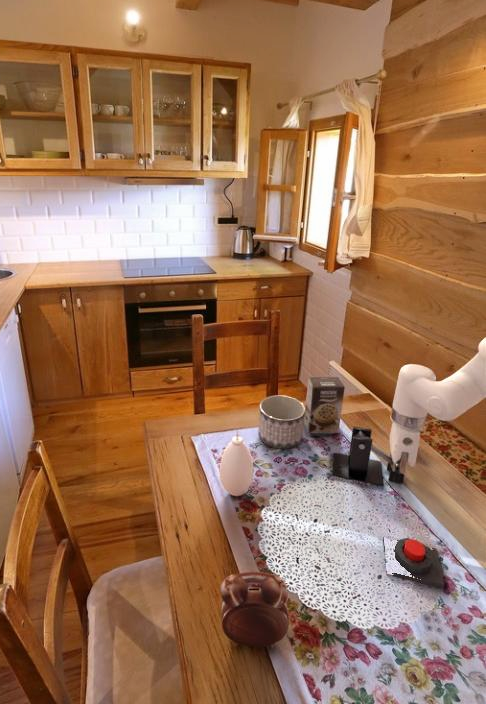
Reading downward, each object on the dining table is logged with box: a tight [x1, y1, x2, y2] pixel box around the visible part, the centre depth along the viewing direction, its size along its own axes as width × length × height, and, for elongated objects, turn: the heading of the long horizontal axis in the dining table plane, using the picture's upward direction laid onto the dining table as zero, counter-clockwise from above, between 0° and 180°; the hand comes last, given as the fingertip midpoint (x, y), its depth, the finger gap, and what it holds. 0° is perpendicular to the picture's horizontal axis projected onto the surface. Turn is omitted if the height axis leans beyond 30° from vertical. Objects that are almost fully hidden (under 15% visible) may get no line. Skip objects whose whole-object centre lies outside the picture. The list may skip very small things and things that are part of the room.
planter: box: [257, 394, 305, 450], centre depth 116 cm, size 13×13×10 cm
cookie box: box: [304, 376, 346, 434], centre depth 119 cm, size 9×6×16 cm
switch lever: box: [355, 431, 400, 468], centre depth 101 cm, size 14×3×3 cm
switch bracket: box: [331, 426, 384, 487], centre depth 103 cm, size 12×9×12 cm
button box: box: [382, 537, 445, 590], centre depth 80 cm, size 10×8×3 cm
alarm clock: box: [220, 571, 289, 648], centre depth 65 cm, size 11×5×15 cm, turn 88°
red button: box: [404, 539, 425, 562], centre depth 79 cm, size 4×4×2 cm
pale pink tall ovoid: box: [219, 429, 255, 497], centre depth 95 cm, size 8×8×18 cm
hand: (394, 476), depth 102 cm, fingers closed on switch lever, 3 cm apart
